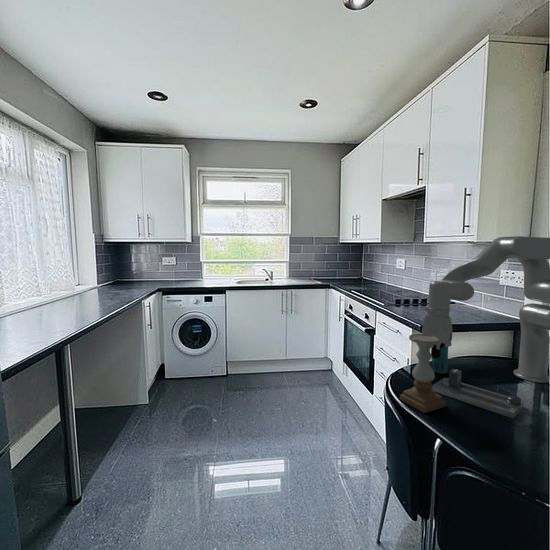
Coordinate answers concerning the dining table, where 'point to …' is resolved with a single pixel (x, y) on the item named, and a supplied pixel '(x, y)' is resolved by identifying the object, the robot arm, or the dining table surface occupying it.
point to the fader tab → (455, 378)
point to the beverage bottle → (440, 361)
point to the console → (481, 398)
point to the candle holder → (423, 377)
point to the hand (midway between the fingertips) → (435, 357)
